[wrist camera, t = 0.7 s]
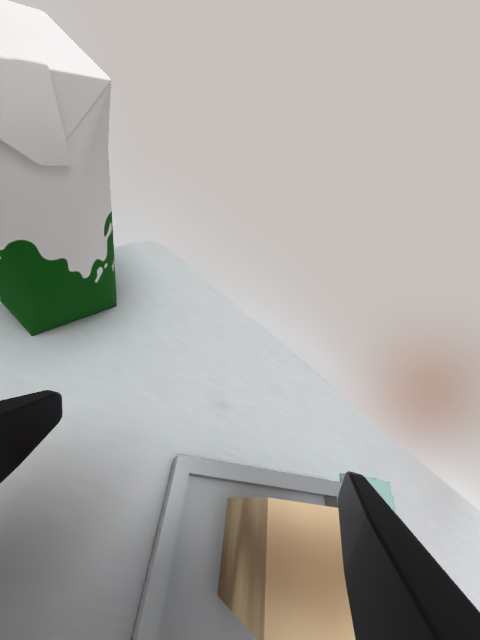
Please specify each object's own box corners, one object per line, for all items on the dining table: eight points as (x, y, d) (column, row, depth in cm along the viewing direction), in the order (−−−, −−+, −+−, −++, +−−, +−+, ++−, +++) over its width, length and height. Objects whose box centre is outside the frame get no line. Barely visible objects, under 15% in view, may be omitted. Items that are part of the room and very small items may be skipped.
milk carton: (-17, 274, 22) (-339, -222, 7) (91, 251, 28) (43, -55, 12) (23, 350, 20) (-325, -134, 5) (131, 309, 25) (135, 23, 10)
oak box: (288, 599, 17) (364, 647, 11) (217, 595, 15) (263, 647, 10) (287, 506, 20) (347, 509, 14) (227, 497, 18) (268, 497, 13)
